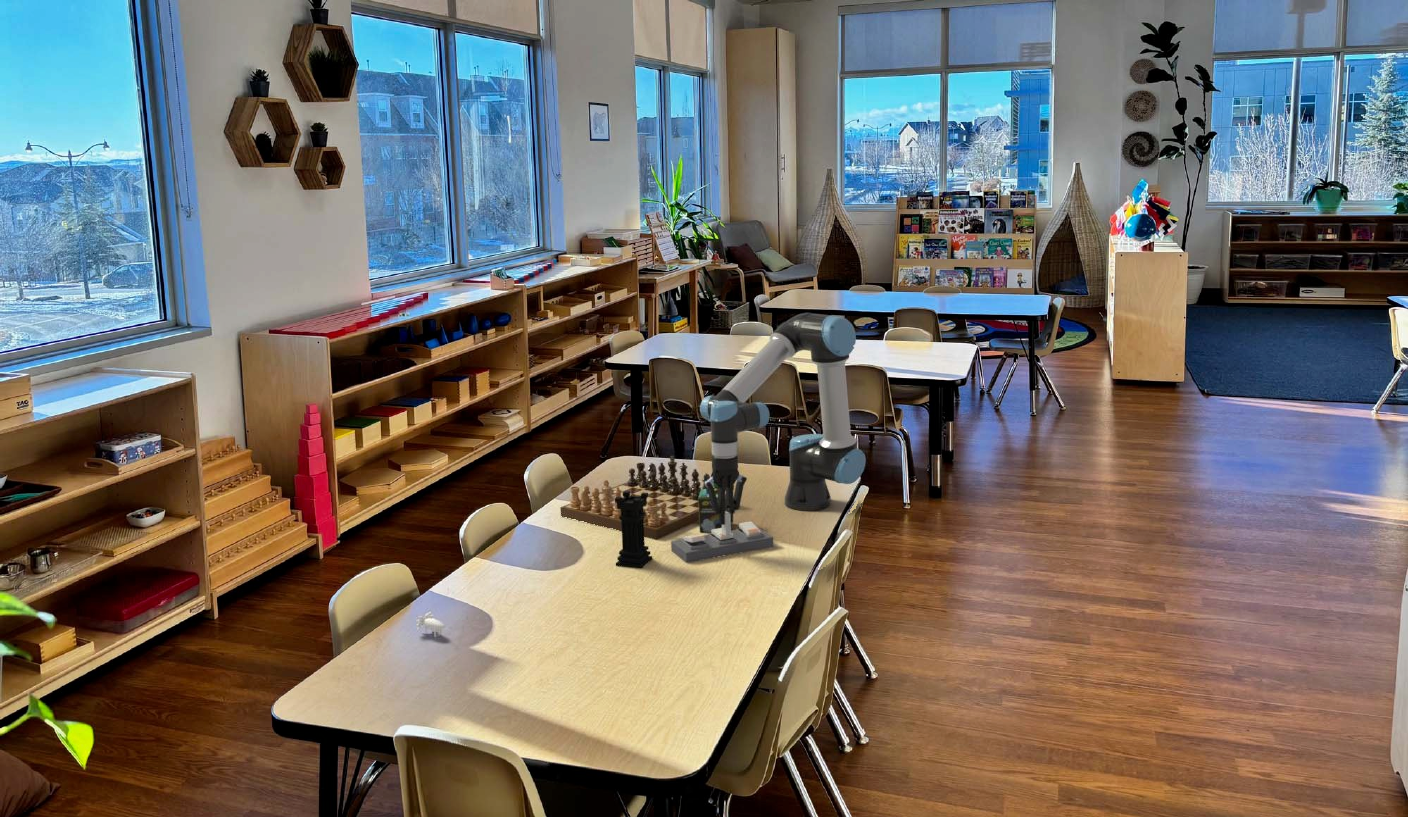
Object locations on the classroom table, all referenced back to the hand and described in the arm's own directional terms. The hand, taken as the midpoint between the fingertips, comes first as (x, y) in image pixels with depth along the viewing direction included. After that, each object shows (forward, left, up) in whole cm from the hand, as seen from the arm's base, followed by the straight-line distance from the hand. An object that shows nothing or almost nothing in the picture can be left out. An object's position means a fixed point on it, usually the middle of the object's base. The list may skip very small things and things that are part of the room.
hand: (726, 534), depth 323 cm
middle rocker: (0, -3, -1) cm, 4 cm away
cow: (+88, +19, -6) cm, 90 cm away
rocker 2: (-9, -3, -1) cm, 10 cm away
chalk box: (-6, -21, -6) cm, 23 cm away
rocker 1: (+9, -3, -1) cm, 9 cm away
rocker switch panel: (0, -3, -6) cm, 7 cm away
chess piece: (+27, -5, -6) cm, 28 cm away
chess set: (+6, -47, -6) cm, 48 cm away
